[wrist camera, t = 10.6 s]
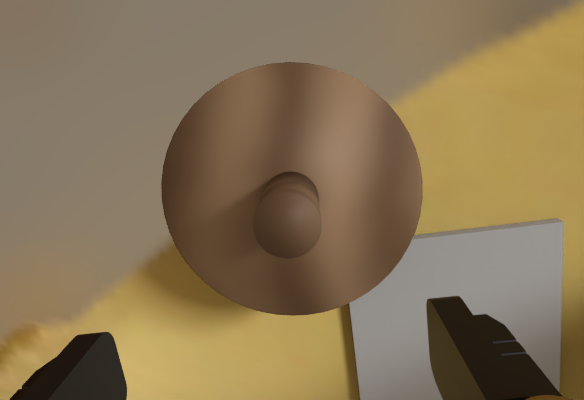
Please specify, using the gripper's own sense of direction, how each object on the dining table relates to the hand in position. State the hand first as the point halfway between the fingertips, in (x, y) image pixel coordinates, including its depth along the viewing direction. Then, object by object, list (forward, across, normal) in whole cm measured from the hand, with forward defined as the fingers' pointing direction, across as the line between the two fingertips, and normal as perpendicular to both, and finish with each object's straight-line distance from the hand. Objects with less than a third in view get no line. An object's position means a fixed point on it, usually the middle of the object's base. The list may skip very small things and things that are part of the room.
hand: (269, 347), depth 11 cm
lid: (+16, 0, 0) cm, 16 cm away
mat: (+22, -11, +14) cm, 28 cm away
